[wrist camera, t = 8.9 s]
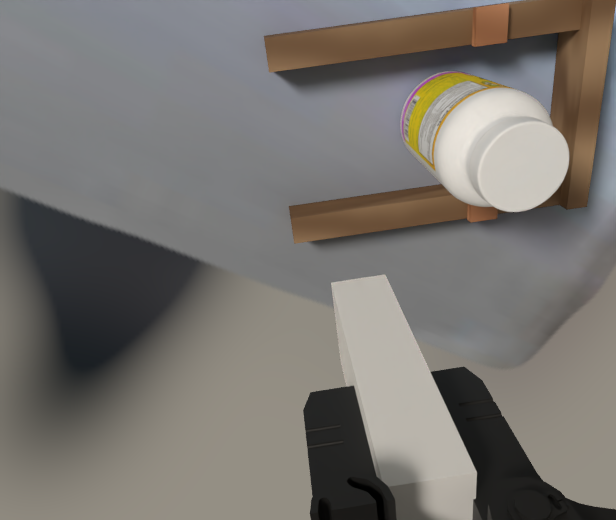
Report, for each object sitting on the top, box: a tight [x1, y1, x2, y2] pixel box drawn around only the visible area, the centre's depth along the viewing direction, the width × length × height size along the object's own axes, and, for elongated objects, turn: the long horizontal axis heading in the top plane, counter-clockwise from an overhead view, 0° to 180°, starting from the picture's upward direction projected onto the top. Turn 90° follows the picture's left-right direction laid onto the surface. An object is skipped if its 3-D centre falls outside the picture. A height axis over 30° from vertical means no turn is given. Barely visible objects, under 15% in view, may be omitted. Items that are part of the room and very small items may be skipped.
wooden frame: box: [264, 0, 616, 244], centre depth 35 cm, size 14×22×4 cm, turn 97°
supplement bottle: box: [400, 71, 569, 212], centre depth 31 cm, size 7×7×13 cm
